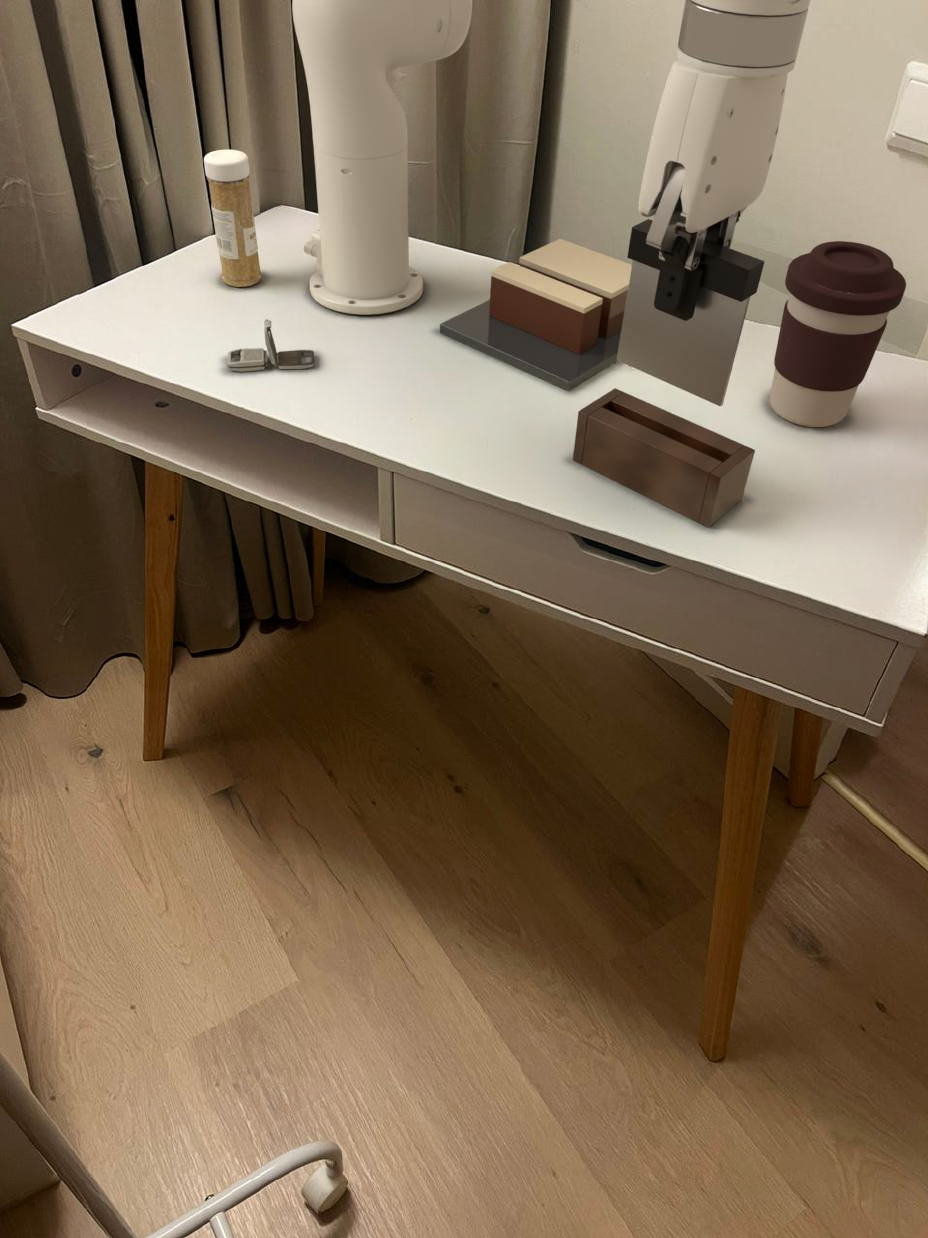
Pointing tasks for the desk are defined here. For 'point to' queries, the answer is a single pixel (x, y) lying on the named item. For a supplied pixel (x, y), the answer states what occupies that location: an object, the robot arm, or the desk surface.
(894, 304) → the coffee cup
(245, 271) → the sprinkles bottle
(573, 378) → the cake board
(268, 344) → the strap clip
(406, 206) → the robot arm
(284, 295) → the desk surface
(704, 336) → the bench scraper
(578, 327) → the cake slice
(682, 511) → the block
